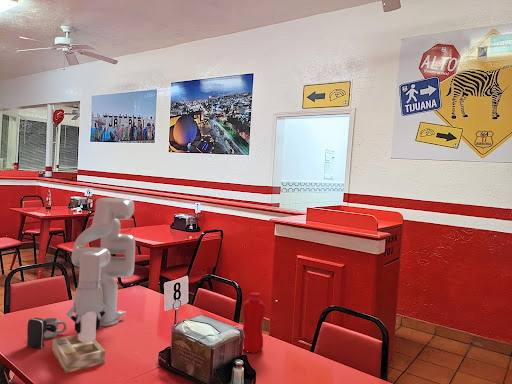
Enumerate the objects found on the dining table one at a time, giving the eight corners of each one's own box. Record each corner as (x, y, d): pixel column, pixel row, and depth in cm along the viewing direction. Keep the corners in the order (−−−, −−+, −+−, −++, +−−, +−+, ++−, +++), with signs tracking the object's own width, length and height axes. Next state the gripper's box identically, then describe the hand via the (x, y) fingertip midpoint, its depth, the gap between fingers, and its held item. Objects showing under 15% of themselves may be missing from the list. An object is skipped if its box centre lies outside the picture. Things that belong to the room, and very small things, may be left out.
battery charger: (47, 345, 167) (48, 318, 167) (40, 349, 164) (41, 321, 163) (33, 342, 169) (34, 315, 169) (26, 346, 166) (27, 318, 165)
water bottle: (248, 341, 186) (252, 287, 184) (265, 350, 178) (269, 294, 176) (233, 346, 179) (237, 290, 178) (250, 355, 171) (254, 297, 170)
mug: (39, 339, 173) (40, 323, 172) (41, 332, 179) (42, 318, 179) (65, 337, 177) (66, 322, 176) (66, 330, 183) (67, 316, 182)
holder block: (88, 343, 172) (88, 331, 171) (104, 363, 156) (105, 350, 156) (52, 351, 163) (52, 338, 163) (65, 373, 147) (66, 358, 147)
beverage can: (98, 340, 156) (99, 310, 156) (82, 345, 152) (83, 313, 151) (90, 335, 160) (92, 305, 160) (75, 339, 156) (76, 308, 155)
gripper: (108, 279, 163) (106, 322, 164) (62, 284, 152) (60, 331, 153) (115, 284, 157) (113, 329, 158) (68, 289, 146) (65, 338, 147)
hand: (87, 329), depth 156 cm, fingers closed on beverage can, 6 cm apart
